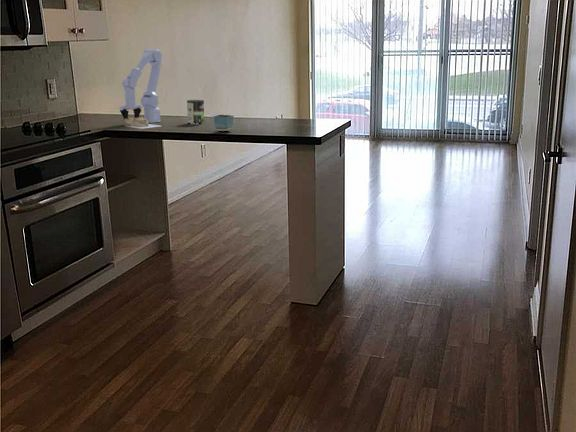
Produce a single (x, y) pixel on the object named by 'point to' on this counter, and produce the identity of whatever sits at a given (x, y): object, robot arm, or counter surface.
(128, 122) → the t block
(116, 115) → the counter surface
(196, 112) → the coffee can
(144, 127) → the mat
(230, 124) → the flower pot
